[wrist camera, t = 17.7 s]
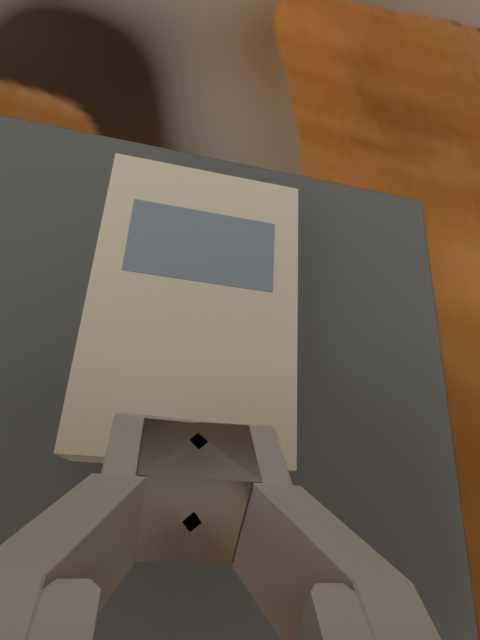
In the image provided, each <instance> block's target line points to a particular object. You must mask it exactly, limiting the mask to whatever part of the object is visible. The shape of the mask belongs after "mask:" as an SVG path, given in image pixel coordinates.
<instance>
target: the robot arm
mask: <svg viewBox="0 0 480 640" xmlns="http://www.w3.org/2000/svg"><path fill="white" fill-rule="evenodd" d="M143 420H144V423H143ZM142 428H143V430H142ZM141 436H142V437H141ZM140 444H141V445H140ZM162 561H185V562H203V563H222V564H232V567H233V569H234V570H235V572H236V573H237V575H238V577H239V578H240V580H241V581H242V583H243V584H244V586H245V587H246V589H247V590H248V592H249V593H250V595H251V596H252V598H253V599H254V601H255V602H256V604H257V605H258V607H259V608H260V610H261V611H262V613H263V614H264V616H265V617H266V619H267V620H268V622H269V623H270V625H271V626H272V628H273V629H274V631H275V632H276V634H277V635H278V637H279V638H280V640H441V638H440V636H439V634H438V632H437V630H436V628H435V626H434V624H433V622H432V620H431V618H430V616H429V614H428V612H427V610H426V609H425V607H424V605H423V603H422V601H421V599H420V597H419V595H418V593H417V591H416V589H415V587H414V585H413V583H412V582H411V581H410V580H409V579H407V578H406V577H405V576H404V575H403V574H402V573H401V572H399V571H398V570H397V569H396V568H395V567H394V566H392V565H391V564H390V563H389V562H388V561H387V560H385V559H384V558H383V557H382V556H381V555H380V554H379V553H377V552H376V551H375V550H374V549H373V548H372V547H370V546H369V545H368V544H367V543H366V542H365V541H364V540H362V539H361V538H360V537H359V536H358V535H357V534H355V533H354V532H353V531H352V530H351V529H350V528H349V527H347V526H346V525H345V524H344V523H343V522H342V521H340V520H339V519H338V518H337V517H336V516H335V515H334V514H332V513H331V512H330V511H329V510H328V509H327V508H325V507H324V506H323V505H322V504H321V503H320V502H319V501H317V500H316V499H315V498H314V497H313V496H312V495H310V494H309V493H308V492H307V491H306V490H305V489H303V488H302V487H301V486H295V485H293V484H292V481H291V478H290V475H289V472H288V469H287V466H286V462H285V459H284V456H283V453H282V450H281V447H280V444H279V441H278V438H277V435H276V432H275V429H274V428H273V427H272V426H271V425H253V424H247V425H242V424H229V423H216V422H202V421H197V420H188V419H178V418H169V417H160V416H151V415H145V416H143V415H141V414H130V413H118V412H117V413H116V415H115V416H114V420H113V424H112V428H111V433H110V437H109V441H108V446H107V450H106V454H105V458H104V463H103V467H102V471H101V474H98V473H92V474H90V475H89V476H88V477H87V478H85V479H84V480H83V481H82V482H80V483H79V484H78V485H76V486H75V487H74V488H73V489H71V490H70V491H69V492H67V493H66V494H65V495H64V496H62V497H61V498H60V499H59V500H57V501H56V502H55V503H53V504H52V505H51V506H50V507H48V508H47V509H46V510H44V511H43V512H42V513H41V514H39V515H38V516H37V517H36V518H34V519H33V520H32V521H30V522H29V523H28V524H27V525H25V526H24V527H23V528H22V529H20V530H19V531H18V532H16V533H15V534H14V535H13V536H11V537H10V538H9V539H7V540H6V541H5V542H4V543H2V544H1V545H0V640H95V636H96V627H97V618H98V613H99V611H100V610H101V609H102V607H103V606H104V605H105V603H106V602H107V601H108V599H109V598H110V596H111V595H112V594H113V592H114V591H115V590H116V588H117V587H118V586H119V584H120V583H121V581H122V580H123V579H124V577H125V576H126V575H127V573H128V572H129V570H130V569H131V568H132V566H133V565H134V562H162Z"/></svg>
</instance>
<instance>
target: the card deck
mask: <svg viewBox="0 0 480 640" xmlns="http://www.w3.org/2000/svg"><path fill="white" fill-rule="evenodd" d="M297 329H298V189H296V188H291V187H286V186H281V185H276V184H271V183H266V182H261V181H256V180H250V179H245V178H240V177H235V176H230V175H225V174H220V173H215V172H210V171H205V170H200V169H194V168H189V167H184V166H179V165H174V164H169V163H164V162H159V161H154V160H149V159H144V158H139V157H133V156H128V155H123V154H118V153H115V158H114V163H113V168H112V172H111V177H110V182H109V187H108V192H107V197H106V201H105V206H104V211H103V216H102V221H101V226H100V230H99V235H98V240H97V245H96V250H95V255H94V260H93V264H92V269H91V274H90V279H89V284H88V289H87V293H86V298H85V303H84V308H83V313H82V318H81V323H80V327H79V332H78V337H77V342H76V347H75V352H74V356H73V361H72V366H71V371H70V376H69V381H68V385H67V390H66V395H65V400H64V405H63V410H62V415H61V419H60V424H59V429H58V434H57V439H56V444H55V448H54V454H56V455H59V456H61V457H63V458H65V459H67V460H70V461H78V462H92V463H104V458H105V454H106V450H107V446H108V441H109V437H110V433H111V428H112V424H113V420H114V416H115V415H116V413H117V412H118V413H130V414H141V415H143V416H145V415H151V416H160V417H169V418H178V419H188V420H197V421H202V422H216V423H229V424H242V425H247V424H253V425H271V426H272V427H273V428H274V429H275V432H276V435H277V438H278V441H279V444H280V447H281V450H282V453H283V456H284V459H285V462H286V466H287V469H288V472H290V471H297ZM143 423H144V420H143ZM142 430H143V428H142ZM141 437H142V436H141ZM140 445H141V444H140Z"/></svg>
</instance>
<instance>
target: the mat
mask: <svg viewBox="0 0 480 640" xmlns="http://www.w3.org/2000/svg"><path fill="white" fill-rule="evenodd" d="M115 153H118V154H123V155H128V156H133V157H139V158H144V159H149V160H154V161H159V162H164V163H169V164H174V165H179V166H184V167H189V168H194V169H200V170H205V171H210V172H215V173H220V174H225V175H230V176H235V177H240V178H245V179H250V180H256V181H261V182H266V183H271V184H276V185H281V186H286V187H291V188H296V189H298V329H297V471H290V472H289V475H290V478H291V481H292V484H293V485H295V486H301V487H302V488H303V489H305V490H306V491H307V492H308V493H309V494H310V495H312V496H313V497H314V498H315V499H316V500H317V501H319V502H320V503H321V504H322V505H323V506H324V507H325V508H327V509H328V510H329V511H330V512H331V513H332V514H334V515H335V516H336V517H337V518H338V519H339V520H340V521H342V522H343V523H344V524H345V525H346V526H347V527H349V528H350V529H351V530H352V531H353V532H354V533H355V534H357V535H358V536H359V537H360V538H361V539H362V540H364V541H365V542H366V543H367V544H368V545H369V546H370V547H372V548H373V549H374V550H375V551H376V552H377V553H379V554H380V555H381V556H382V557H383V558H384V559H385V560H387V561H388V562H389V563H390V564H391V565H392V566H394V567H395V568H396V569H397V570H398V571H399V572H401V573H402V574H403V575H404V576H405V577H406V578H407V579H409V580H410V581H411V582H412V583H413V585H414V587H415V589H416V591H417V593H418V595H419V597H420V599H421V601H422V603H423V605H424V607H425V609H426V610H427V612H428V614H429V616H430V618H431V620H432V622H433V624H434V626H435V628H436V630H437V632H438V634H439V636H440V638H441V640H478V633H477V626H476V618H475V610H474V602H473V595H472V587H471V579H470V572H469V564H468V556H467V549H466V541H465V533H464V526H463V518H462V510H461V502H460V495H459V487H458V479H457V472H456V464H455V456H454V449H453V441H452V433H451V425H450V418H449V410H448V402H447V395H446V387H445V379H444V372H443V364H442V356H441V349H440V341H439V333H438V325H437V318H436V310H435V302H434V295H433V287H432V279H431V272H430V264H429V256H428V249H427V241H426V233H425V225H424V218H423V210H422V202H421V200H416V199H411V198H407V197H402V196H397V195H392V194H387V193H382V192H377V191H372V190H367V189H362V188H357V187H352V186H347V185H343V184H338V183H333V182H328V181H323V180H318V179H313V178H308V177H303V176H298V175H293V174H288V173H283V172H278V171H273V170H269V169H264V168H259V167H254V166H249V165H244V164H239V163H234V162H229V161H224V160H219V159H214V158H210V157H205V156H199V155H194V154H190V153H185V152H180V151H175V150H170V149H165V148H160V147H155V146H150V145H146V144H141V143H136V142H131V141H126V140H121V139H116V138H111V137H106V136H101V135H96V134H91V133H86V132H81V131H77V130H72V129H67V128H62V127H57V126H52V125H47V124H42V123H37V122H32V121H27V120H22V119H17V118H13V117H8V116H3V115H0V545H1V544H2V543H4V542H5V541H6V540H7V539H9V538H10V537H11V536H13V535H14V534H15V533H16V532H18V531H19V530H20V529H22V528H23V527H24V526H25V525H27V524H28V523H29V522H30V521H32V520H33V519H34V518H36V517H37V516H38V515H39V514H41V513H42V512H43V511H44V510H46V509H47V508H48V507H50V506H51V505H52V504H53V503H55V502H56V501H57V500H59V499H60V498H61V497H62V496H64V495H65V494H66V493H67V492H69V491H70V490H71V489H73V488H74V487H75V486H76V485H78V484H79V483H80V482H82V481H83V480H84V479H85V478H87V477H88V476H89V475H90V474H92V473H98V474H101V471H102V467H103V463H92V462H78V461H70V460H67V459H65V458H63V457H61V456H59V455H56V454H54V448H55V444H56V439H57V434H58V429H59V424H60V419H61V415H62V410H63V405H64V400H65V395H66V390H67V385H68V381H69V376H70V371H71V366H72V361H73V356H74V352H75V347H76V342H77V337H78V332H79V327H80V323H81V318H82V313H83V308H84V303H85V298H86V293H87V289H88V284H89V279H90V274H91V269H92V264H93V260H94V255H95V250H96V245H97V240H98V235H99V230H100V226H101V221H102V216H103V211H104V206H105V201H106V197H107V192H108V187H109V182H110V177H111V172H112V168H113V163H114V158H115ZM95 640H280V638H279V637H278V635H277V634H276V632H275V631H274V629H273V628H272V626H271V625H270V623H269V622H268V620H267V619H266V617H265V616H264V614H263V613H262V611H261V610H260V608H259V607H258V605H257V604H256V602H255V601H254V599H253V598H252V596H251V595H250V593H249V592H248V590H247V589H246V587H245V586H244V584H243V583H242V581H241V580H240V578H239V577H238V575H237V573H236V572H235V570H234V569H233V567H232V564H222V563H203V562H185V561H162V562H134V565H133V566H132V568H131V569H130V570H129V572H128V573H127V575H126V576H125V577H124V579H123V580H122V581H121V583H120V584H119V586H118V587H117V588H116V590H115V591H114V592H113V594H112V595H111V596H110V598H109V599H108V601H107V602H106V603H105V605H104V606H103V607H102V609H101V610H100V611H99V613H98V618H97V627H96V636H95Z"/></svg>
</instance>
